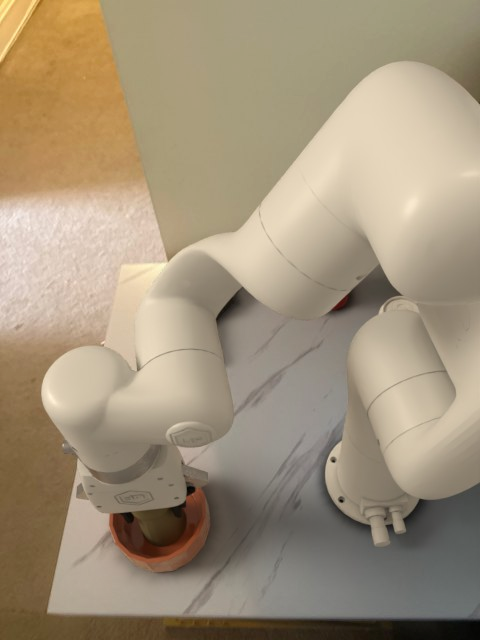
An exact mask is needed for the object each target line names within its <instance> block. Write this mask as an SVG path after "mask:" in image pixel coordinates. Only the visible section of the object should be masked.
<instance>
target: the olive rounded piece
mask: <svg viewBox="0 0 480 640" xmlns="http://www.w3.org/2000/svg"><path fill="white" fill-rule="evenodd" d="M181 509H182V517H181V518H177V517H175V515H174V513H173V511H172V509H171V507H168V508H160V509H152V510H143V511H134V512H131V513H132V514H133V515H134V516H135V517H137V518H138V520H139V524H140V528H141V531H142V534H143V537H144V538H145V539H146V541H147V542H149V543H150V544H152V545H153V546H158V547H164V546H169V545H171V544H173V543H175V542H176V541H177V540H178V539H180V538H181V536H182V535H183V533H184V531H185V528H186V524H187V519H186V514H185V511H184V509H183V508H181Z"/></svg>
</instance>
